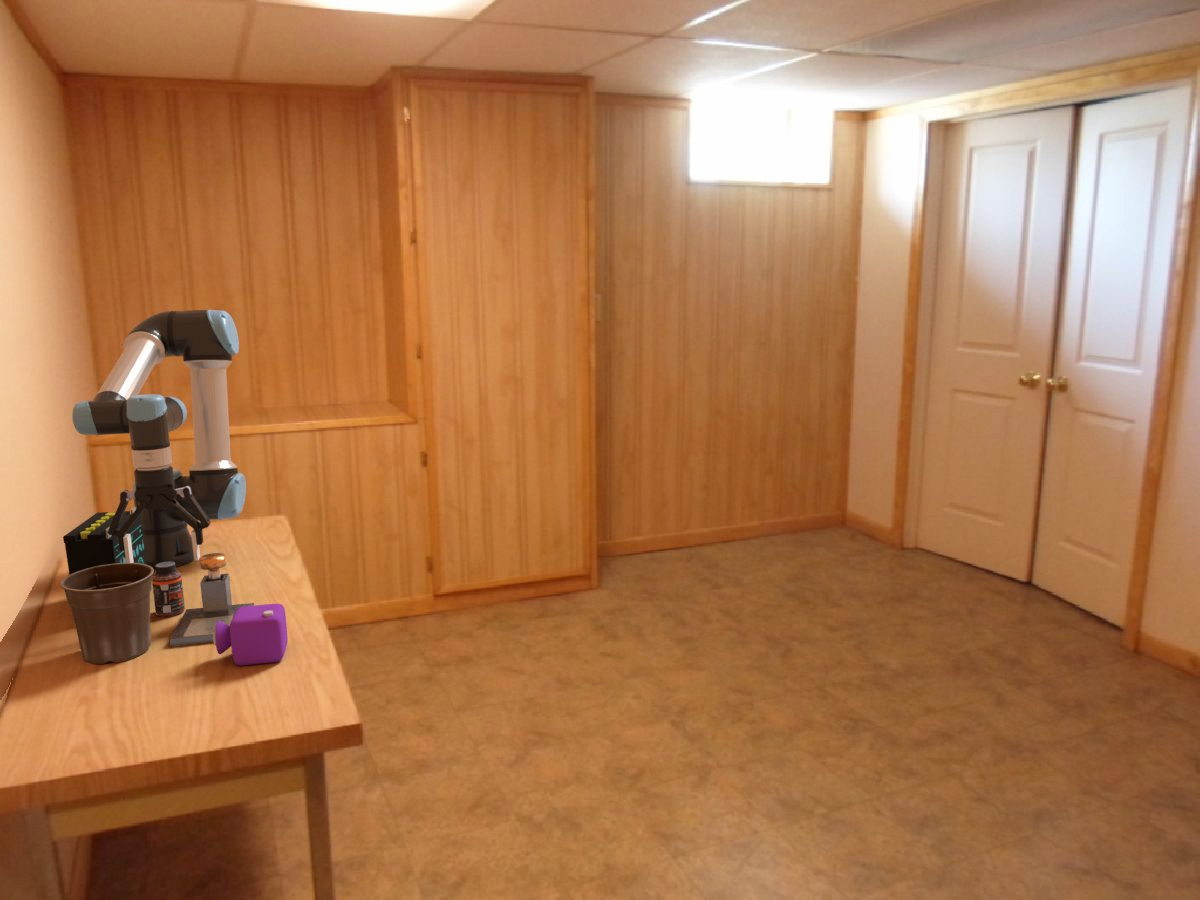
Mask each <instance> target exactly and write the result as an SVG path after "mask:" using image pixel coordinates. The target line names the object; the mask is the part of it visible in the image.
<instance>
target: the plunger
mask: <svg viewBox="0 0 1200 900" xmlns="http://www.w3.org/2000/svg"><path fill="white" fill-rule="evenodd" d="M198 561H199V566H200V569H201V570H204V571H205V570H206V571H207V575H208V577H209V581H218V580H221V576H220V574H221V568H224V567H226V565H227V559H226V554H225V553H222V552H215V553H207V554H204V555H200V558H199V560H198Z"/></svg>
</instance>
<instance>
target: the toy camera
mask: <svg viewBox="0 0 1200 900" xmlns="http://www.w3.org/2000/svg"><path fill="white" fill-rule="evenodd" d="M288 637H289V636H288V627H287V616H286V609H285V607H284V605H283V604H281V603H268V604H267V603H265V604H257V605H255V604H254V605H253V606H244V607H240V608H238V609H237V610H236V612H235V614H234V616H233V618H232V620H231V623H230V626H228V625H227V624H225V623H223V622H221V621H218V622H217V625H216V630H215V632H214V634H213V642H212V643H213V644H214V646H215V647H216V653H218V655H222V654H224V653H225V652H227V651H228V650H229V649H231V655H232V660H233V662H234V664H235V665H237V666H247V665H248V666H249V665H261V664H268V663H269V664H270V663H276V662H280V661H281V660H283V658H284V657H285V653H286V649H287V646H288V641H289V640H288Z"/></svg>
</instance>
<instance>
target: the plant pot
mask: <svg viewBox="0 0 1200 900" xmlns="http://www.w3.org/2000/svg"><path fill="white" fill-rule="evenodd" d="M154 570H155V569H153V568H152V567H151V566H149V565H146V564H141V563H116V564H107V565H100V566H95V567H91V568H87V569H84V570H81V571H78V572H75V573H73V574H70V575H69V574H68V575H67V576H66V577H64V578H63V579H62V580H60V587H61V589H63V590H64V593H65V597H66V598H65V599H66V601H67V603H68V605H70V610H71V613H72V618H73V621H74V626H75V630H76V635H77V638H78V644H79V647H80V652H81V656H82V659H83V660H84V661H86V662H87V663H91V664H97V665H105V664H106V663H108V662H114V663H120V662H125V661H127V660H131V659H135V658H136V657H139V656H141V655H142V654H144V653H146V652H147V651H149V649H150V646H151V592H152V590H153V585H152V577H153V575H154V574H155V572H154Z"/></svg>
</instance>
